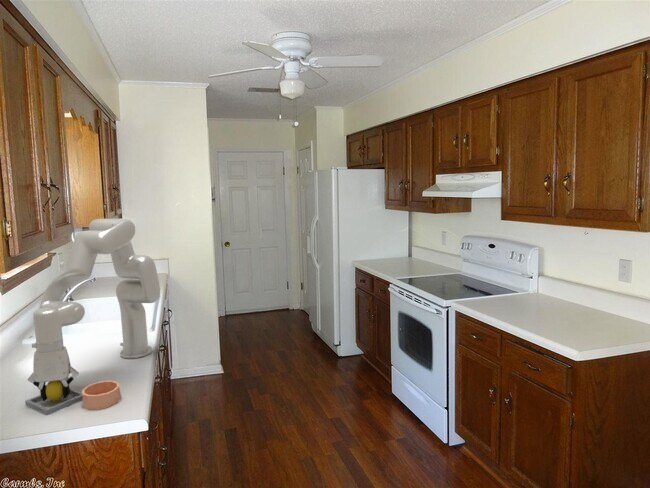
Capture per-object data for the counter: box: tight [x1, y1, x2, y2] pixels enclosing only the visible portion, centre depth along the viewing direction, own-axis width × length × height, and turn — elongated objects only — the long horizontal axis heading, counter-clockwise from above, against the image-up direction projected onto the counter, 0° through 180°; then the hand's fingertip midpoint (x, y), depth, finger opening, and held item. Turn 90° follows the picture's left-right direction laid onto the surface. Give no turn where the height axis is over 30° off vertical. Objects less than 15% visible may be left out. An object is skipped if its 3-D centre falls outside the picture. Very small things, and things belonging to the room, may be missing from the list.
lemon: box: [45, 380, 64, 403], centre depth 156 cm, size 6×6×8 cm
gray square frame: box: [24, 387, 83, 416], centre depth 157 cm, size 13×13×2 cm
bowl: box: [81, 380, 122, 410], centre depth 157 cm, size 11×11×4 cm
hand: (55, 397), depth 157 cm, fingers closed on lemon, 5 cm apart
